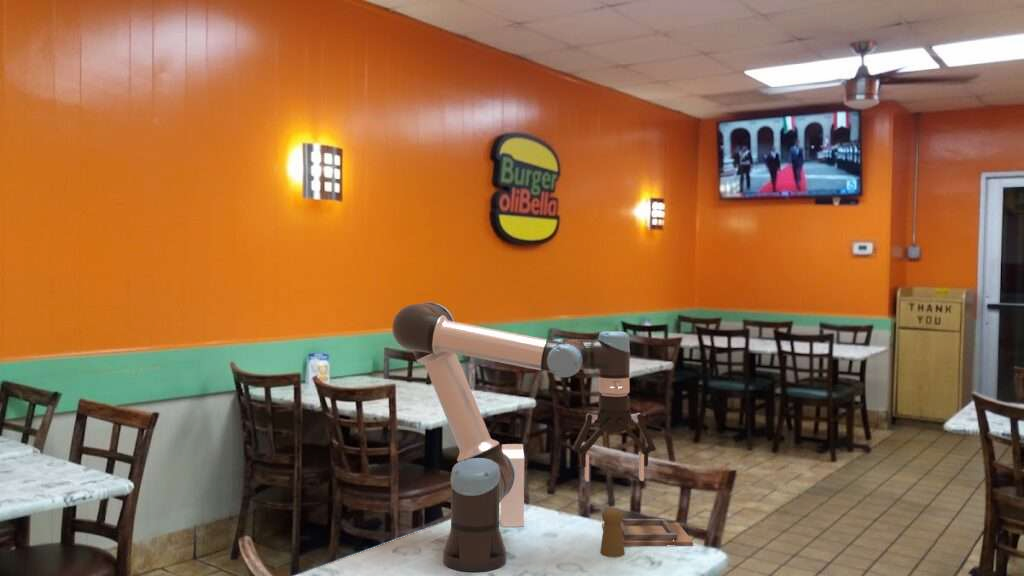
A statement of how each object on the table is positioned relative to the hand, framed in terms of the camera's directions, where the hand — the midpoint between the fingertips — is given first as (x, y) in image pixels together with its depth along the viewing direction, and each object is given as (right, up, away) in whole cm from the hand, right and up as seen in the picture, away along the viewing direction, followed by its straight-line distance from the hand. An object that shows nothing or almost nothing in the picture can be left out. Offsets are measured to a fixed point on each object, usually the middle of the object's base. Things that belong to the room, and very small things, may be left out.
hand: (614, 479), depth 203 cm
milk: (-25, -18, +24) cm, 39 cm away
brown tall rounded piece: (0, -18, 0) cm, 19 cm away
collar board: (+10, -18, +14) cm, 25 cm away
